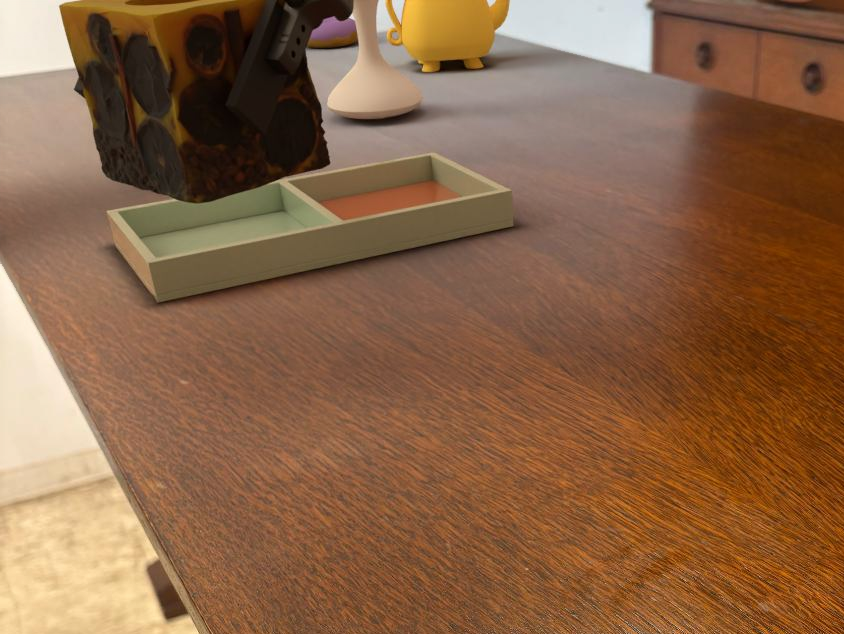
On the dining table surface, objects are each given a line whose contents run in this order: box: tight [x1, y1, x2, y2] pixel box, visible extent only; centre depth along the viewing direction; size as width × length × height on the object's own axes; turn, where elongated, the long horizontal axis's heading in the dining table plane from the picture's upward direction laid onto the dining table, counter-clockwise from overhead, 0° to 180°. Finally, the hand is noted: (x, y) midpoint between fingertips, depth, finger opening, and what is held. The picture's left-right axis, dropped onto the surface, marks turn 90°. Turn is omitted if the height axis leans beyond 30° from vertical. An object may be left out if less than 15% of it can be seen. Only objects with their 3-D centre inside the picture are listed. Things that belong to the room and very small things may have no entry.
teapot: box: [384, 0, 511, 73], centre depth 152 cm, size 14×20×13 cm
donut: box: [307, 17, 358, 49], centre depth 172 cm, size 10×9×5 cm
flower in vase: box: [326, 0, 424, 120], centre depth 123 cm, size 13×11×25 cm
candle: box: [58, 0, 331, 204], centre depth 64 cm, size 10×10×10 cm
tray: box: [106, 151, 514, 304], centre depth 92 cm, size 16×30×3 cm, turn 119°
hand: (167, 112), depth 63 cm, fingers closed on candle, 11 cm apart
